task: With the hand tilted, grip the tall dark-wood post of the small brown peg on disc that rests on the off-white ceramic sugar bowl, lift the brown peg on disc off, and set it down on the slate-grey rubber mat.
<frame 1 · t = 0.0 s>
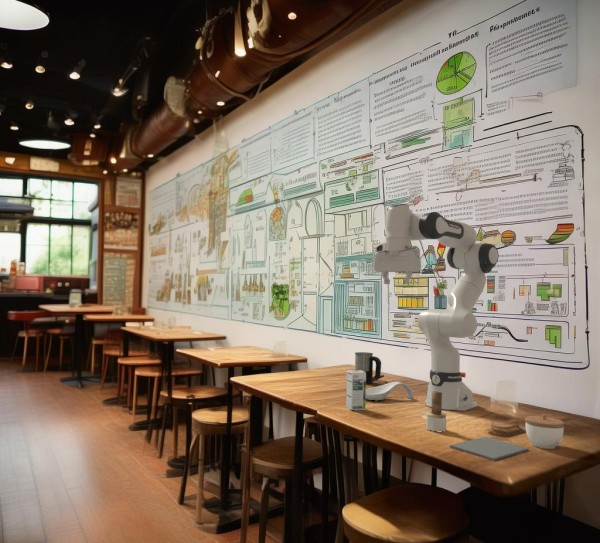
hand: (396, 284, 193), 48 cm above the table, tool pointing down, fingers open, 8 cm apart
brown peg on disc: (436, 416, 172), point 4 cm above the table, touching bowl
mat: (489, 448, 152), on the table
spoon rest: (386, 400, 221), on the table
bowl: (436, 429, 172), on the table
lidded jar: (543, 446, 157), on the table
milk frother: (369, 382, 264), on the table
syrup box: (355, 409, 199), on the table
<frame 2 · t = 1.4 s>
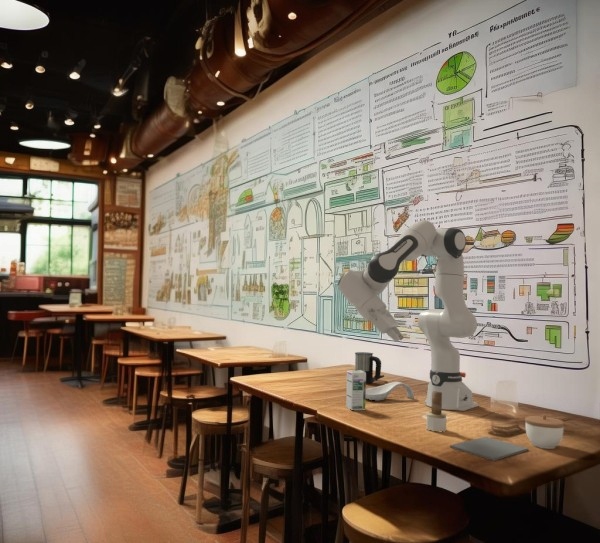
hand: (400, 339, 177), 29 cm above the table, tool tilted 45°, fingers open, 8 cm apart
nothing on the table moved.
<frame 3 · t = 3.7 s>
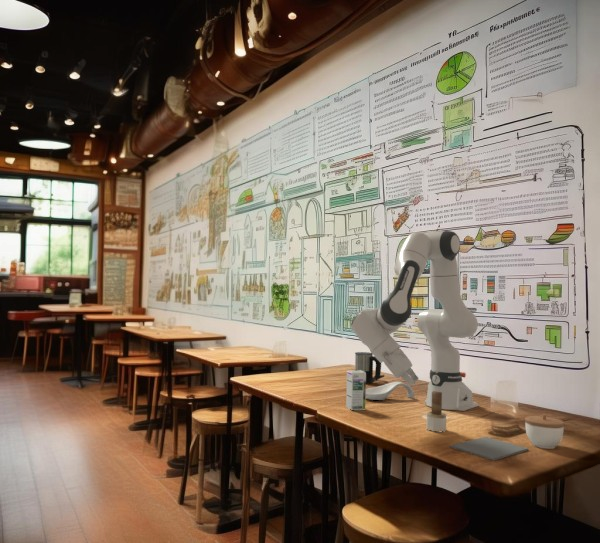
hand: (415, 382, 175), 15 cm above the table, tool tilted 45°, fingers open, 8 cm apart
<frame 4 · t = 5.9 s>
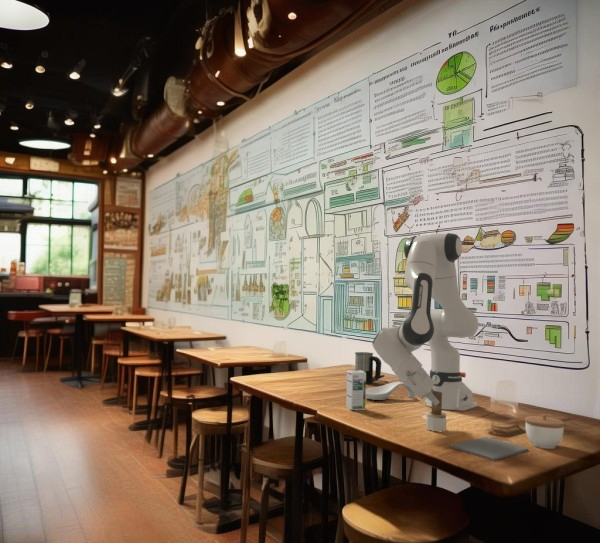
hand: (438, 402, 172), 9 cm above the table, tool tilted 45°, fingers closed on brown peg on disc, 3 cm apart
brown peg on disc: (436, 416, 172), point 4 cm above the table, touching bowl, gripper
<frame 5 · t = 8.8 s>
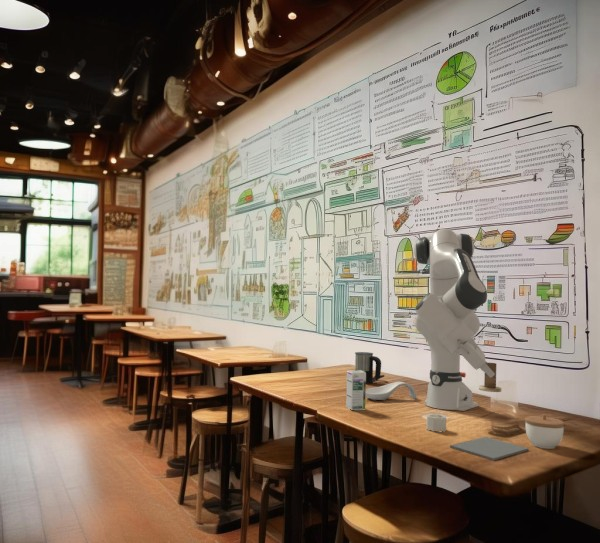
hand: (492, 374, 153), 21 cm above the table, tool tilted 45°, fingers closed on brown peg on disc, 3 cm apart
brown peg on disc: (490, 390, 153), point 17 cm above the table, touching gripper
when the fingers open (6 cm above the table, at t = 11.9 s): brown peg on disc drops 1 cm, resting on mat.
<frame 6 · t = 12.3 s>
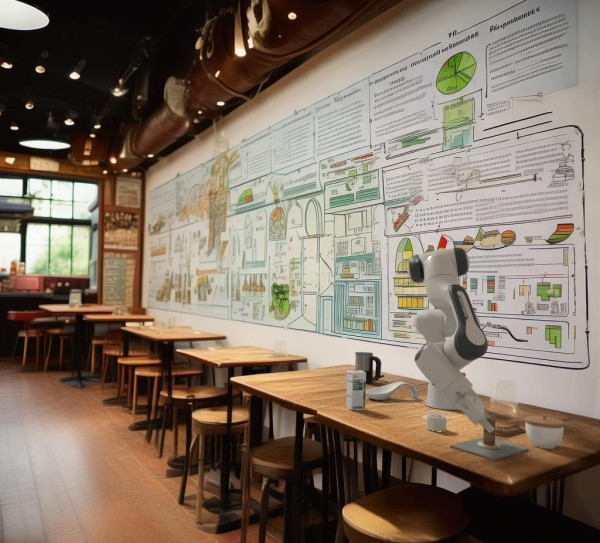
hand: (492, 427, 152), 6 cm above the table, tool tilted 45°, fingers open, 7 cm apart
brown peg on disc: (489, 446, 152), point 1 cm above the table, touching mat
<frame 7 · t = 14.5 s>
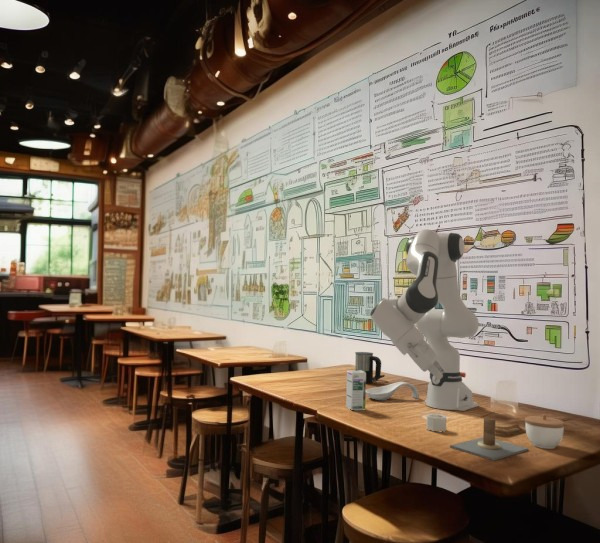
hand: (442, 375, 162), 19 cm above the table, tool tilted 45°, fingers open, 8 cm apart
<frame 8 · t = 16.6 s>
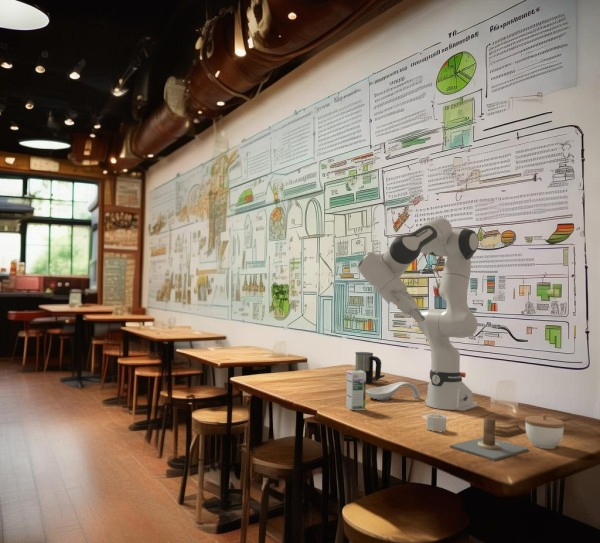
hand: (422, 321, 177), 35 cm above the table, tool tilted 45°, fingers open, 8 cm apart
at the end: brown peg on disc inside the target area on the mat (0.1 cm from its centre), point 0.6 cm above the mat's base; brown peg on disc tilted 0°; brown peg on disc touching mat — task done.
